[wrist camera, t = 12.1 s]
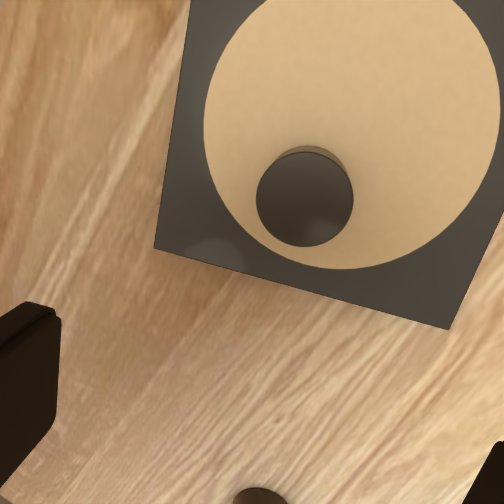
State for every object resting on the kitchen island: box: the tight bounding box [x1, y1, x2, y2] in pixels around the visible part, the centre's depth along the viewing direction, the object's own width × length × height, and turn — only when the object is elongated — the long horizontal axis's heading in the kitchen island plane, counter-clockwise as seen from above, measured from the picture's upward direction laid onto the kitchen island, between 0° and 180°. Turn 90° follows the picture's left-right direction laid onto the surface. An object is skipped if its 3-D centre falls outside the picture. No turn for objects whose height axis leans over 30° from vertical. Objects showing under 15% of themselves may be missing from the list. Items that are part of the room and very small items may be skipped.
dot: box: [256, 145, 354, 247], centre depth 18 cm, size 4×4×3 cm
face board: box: [154, 0, 504, 330], centre depth 19 cm, size 16×16×1 cm
